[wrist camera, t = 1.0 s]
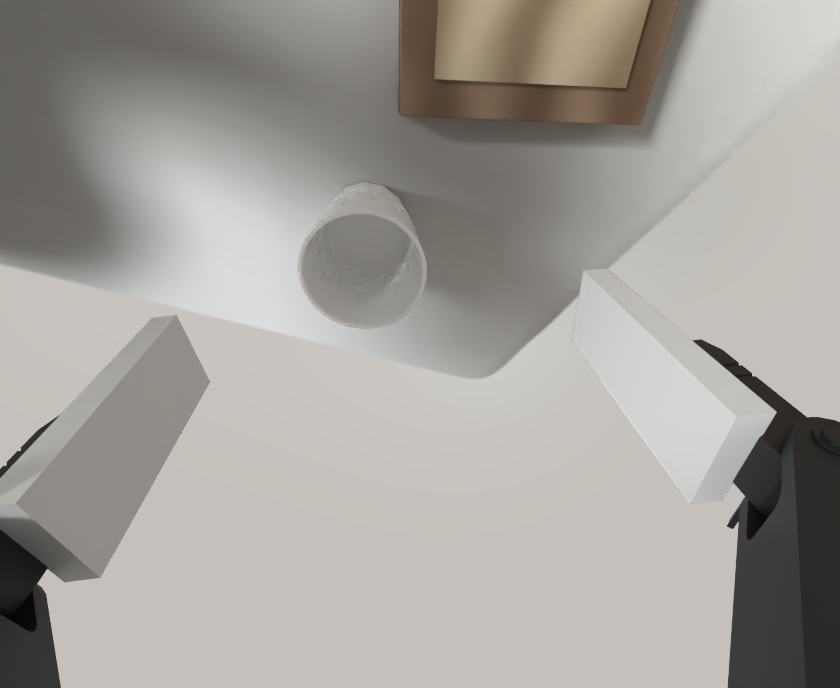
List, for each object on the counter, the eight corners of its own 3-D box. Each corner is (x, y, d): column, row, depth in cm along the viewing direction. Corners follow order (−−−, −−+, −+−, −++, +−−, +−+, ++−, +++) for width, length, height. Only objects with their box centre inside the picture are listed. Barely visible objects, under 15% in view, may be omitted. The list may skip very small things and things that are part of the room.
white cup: (416, 266, 35) (427, 325, 27) (327, 271, 34) (310, 332, 26) (414, 171, 30) (426, 207, 22) (311, 175, 30) (285, 213, 22)
